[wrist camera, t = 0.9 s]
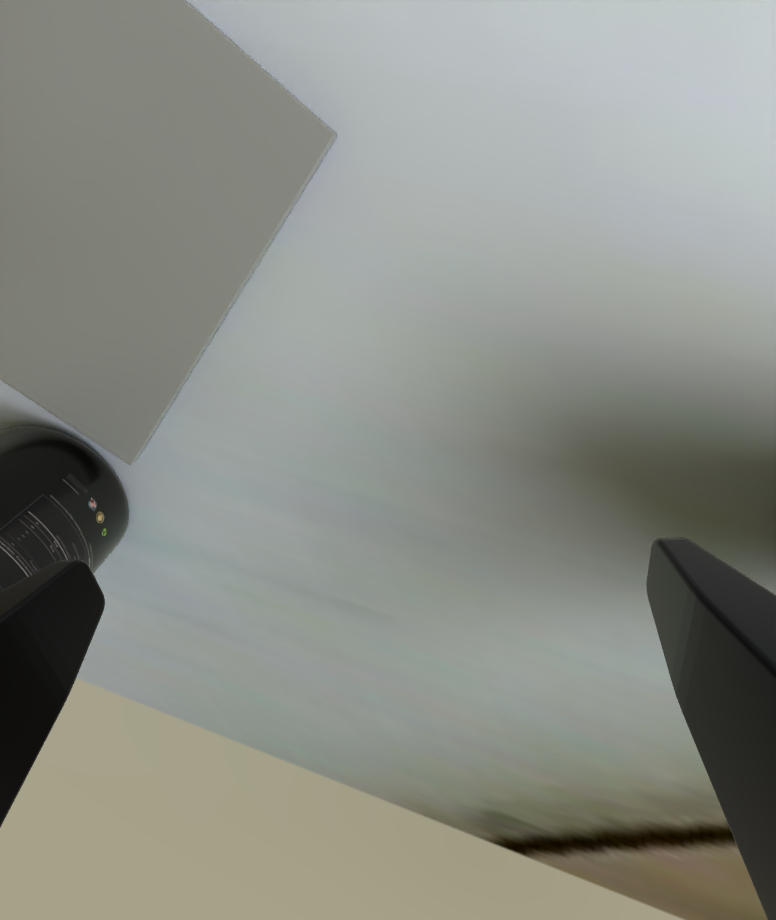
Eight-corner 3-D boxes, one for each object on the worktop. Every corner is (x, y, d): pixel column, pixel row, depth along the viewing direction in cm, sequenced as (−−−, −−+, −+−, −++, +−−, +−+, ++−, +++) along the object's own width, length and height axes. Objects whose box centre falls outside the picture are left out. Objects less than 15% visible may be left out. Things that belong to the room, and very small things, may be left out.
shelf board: (337, 135, 16) (316, 132, 14) (138, 458, 23) (101, 492, 20) (-64, -222, 13) (-171, -298, 11) (-157, 261, 20) (-236, 276, 18)
